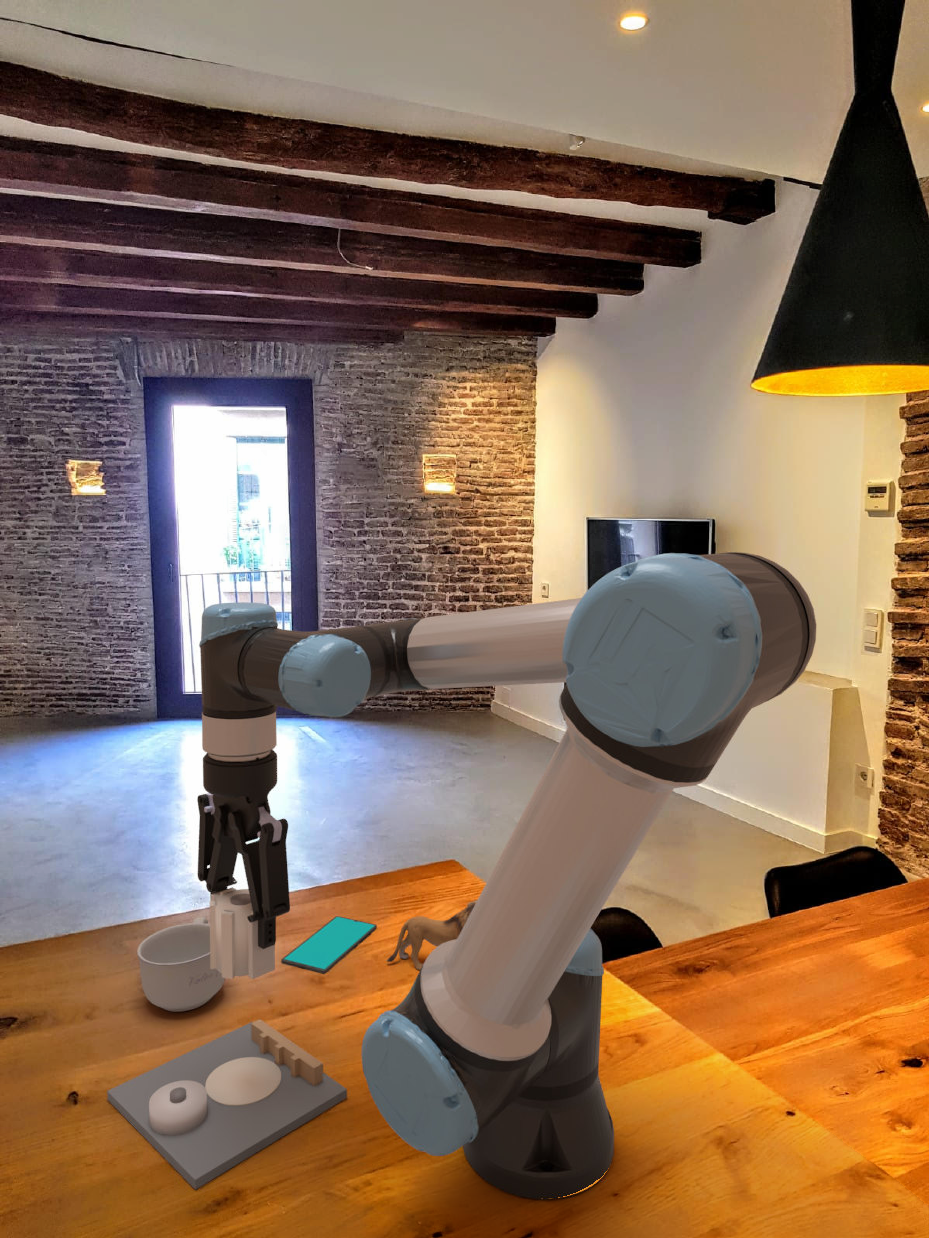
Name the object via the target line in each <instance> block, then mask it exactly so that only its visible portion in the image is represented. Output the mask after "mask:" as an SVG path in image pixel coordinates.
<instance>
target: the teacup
mask: <svg viewBox="0 0 929 1238" xmlns="http://www.w3.org/2000/svg"><path fill="white" fill-rule="evenodd" d="M136 951H137V952H136V954H137V957H138V964H139V972H140V978H141V987H142V990H143V993H144V995H145V997H146V999H147V1000H148V1001H149V1002H150V1004H152V1005H155V1006H156V1007H159V1008H161V1009H163V1010H166V1011H168V1012H179V1013H180V1012H185V1011H187V1012H188V1011H190V1010H194V1009H197V1008H199V1007H201V1006H204V1005H205V1004H206V1003H207V1002H209V1001H210V1000H211V999H212V998H213V997H214V996H215V995H216V994H217V993H218V992H219V991H220V990H221V988H222V987H223V985H224V982H225V980H226V978H223V977H222V973H220V972H219V971H217V969H210V923H209V920H208V919H207V918H206V917H205V916H199V917H196V918H194V920H193V921H192V922H191V923H189V922H188V923H182V924H177V925H172V926H169V927H166V928H162V929H160V930H158V931H156V932H154V933H153V934H150V935H149V936H147V937H146V938H144V939H143V941H141V943H140V944H139V945H138V948H137V950H136Z"/></svg>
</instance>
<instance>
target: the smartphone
mask: <svg viewBox="0 0 929 1238" xmlns="http://www.w3.org/2000/svg"><path fill="white" fill-rule="evenodd" d="M377 927H378V925H377V924H375V923H372V922H371V923H370V922H366V921H361V920H357V919H354V918H353V919H352V918H348V917H344V916H340V915H339V916H338V915H337V916H334V917H333V918H331V920H329V921H328V922H327V923H325V924H324V925H323V926H322V927H321V928H319V929H318V930H316V931H315V933H313V934H312V935H310V936H309V937H308V938H306V939H305V940H304V941H303V942H301V943H300V944H299V945H297V946H296V947H295V948H294V949H293V950H291V951H290V952H289V953H287V954H286V955H285V956H284V957H282V958H281V960H280V961H281V962H280V963H281V964H283V965H287V966H290V967H294V968H298V969H300V968H302V969H304V970H307V971H311V972H313V973H318V974H321V975H325V974H327V973H328V972H330V970H331V969H333V967H335V966H336V965H337V964H338V963H339V962H340V961H342V959H344V958H345V957H346V956H347V955H348V954H350V953H351V952H352V951H353V950H354V949H356V948H357V947H358V946H359V945H360V944H362V943H363V942H364V941H365V940H366V939H367V938H368V937H370V936H371V935H372V933H373V932H375V931H376V930H377Z"/></svg>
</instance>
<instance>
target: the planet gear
mask: <svg viewBox="0 0 929 1238" xmlns="http://www.w3.org/2000/svg"><path fill="white" fill-rule="evenodd" d="M228 889H229V888H228ZM262 906H263V904H262ZM250 915H253V910H252V905H251V899H250V894H249V889H248V888H243V889H241V888H240V889H236V890H234V891H233V890H231V889H229V890H226V891H223V892H220V896H219V897H218V898H217V899H216V900H215V901H210V900H209V924H210V969H217V971H219V972H220V973H222V977H223V978H225V979H231V980H233V979H234V978H236V977H245V976H249V955H248V918H247V916H250Z"/></svg>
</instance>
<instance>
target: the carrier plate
mask: <svg viewBox="0 0 929 1238" xmlns="http://www.w3.org/2000/svg"><path fill="white" fill-rule="evenodd" d="M323 1065H324V1064H323V1062H322V1061H321V1060H318V1058H316V1057H314V1056H313V1055H312V1054H311V1053H308V1051H306V1050H305V1049H303V1048H301V1047H300V1046H299V1045H297V1044H296V1043H294V1042H293V1041H291V1040H290V1039H289V1038H287V1037H286V1036H284V1035H283V1034H282V1033H280V1032H279V1031H277V1030H276V1029H275V1028H273V1027H272V1026H270V1025H269V1024H268V1023H266V1022H264V1020H261V1019H260V1018H259V1019H256V1020H255V1021H251V1022H249V1023H247V1024H245V1025H243V1026H241V1027H239V1028H236V1029H234V1030H232V1031H230V1032H228V1033H226V1034H224V1035H222V1036H219V1037H218V1038H215V1039H213V1040H211V1041H209V1042H207V1043H205V1044H203V1045H200V1046H199V1047H198V1046H197V1048H195V1049H194V1048H193V1049H192V1050H191V1051H188V1052H186V1053H184V1054H182V1055H180V1056H178V1057H176V1058H173V1059H171V1060H169V1061H167V1062H165V1063H163V1064H161V1065H159V1066H157V1067H154V1068H152V1069H150V1070H148V1071H146V1072H144V1073H142V1074H140V1075H138V1076H136V1077H133V1078H132V1079H129V1080H128V1081H125V1082H123V1083H121V1084H118V1085H117V1086H115V1087H113V1088H111V1089H110V1088H109V1090H107V1092H106V1094H107V1095H106V1096H107V1098H106V1099H107V1101H108V1102H109V1103H110V1104H111V1105H112V1106H113V1107H114V1108H115V1109H116V1110H117V1111H118V1112H119V1113H120V1114H121V1115H122V1117H124V1118H125V1119H126V1120H127V1121H128V1123H130V1124H131V1125H132V1127H133V1128H134V1129H135V1130H137V1132H138V1133H139V1134H140V1135H142V1136H143V1137H144V1139H145V1140H146V1141H147V1142H148V1143H149V1144H150V1145H151V1146H152V1147H153V1148H154V1149H155V1150H156V1151H157V1152H158V1153H159V1154H160V1155H161V1157H162V1158H164V1160H165V1161H167V1162H168V1164H169V1165H170V1166H172V1168H174V1170H175V1171H177V1173H178V1174H179V1175H180V1176H181V1177H182V1178H183V1179H184V1180H185V1181H186V1182H187V1184H189V1185H190V1186H191V1187H192V1188H193V1189H194V1190H198V1189H199V1188H201V1187H202V1186H204V1185H206V1184H207V1183H209V1182H211V1181H213V1180H214V1179H216V1178H217V1177H218V1176H220V1175H223V1174H224V1173H225V1172H227V1171H228V1170H230V1169H232V1168H234V1167H235V1166H237V1165H238V1164H240V1163H242V1162H243V1161H246V1160H247V1159H249V1158H250V1157H251V1156H254V1155H255V1154H257V1153H259V1152H260V1151H262V1150H263V1149H265V1148H267V1147H268V1146H270V1145H272V1144H273V1143H274V1142H277V1141H278V1140H279V1139H282V1138H283V1137H284V1136H286V1135H288V1134H289V1133H291V1132H293V1131H295V1130H296V1129H298V1128H300V1127H301V1126H303V1125H304V1124H306V1123H308V1122H309V1121H311V1120H312V1119H314V1118H316V1117H318V1116H320V1115H322V1114H323V1113H324V1112H325V1111H327V1110H329V1109H331V1108H332V1107H335V1106H336V1105H337V1104H339V1103H340V1102H342V1101H344V1100H345V1099H347V1098H348V1089H347V1088H346V1087H344V1086H343V1085H341V1084H340V1083H339V1082H338V1081H336V1080H335V1079H333V1078H332V1077H331V1076H329V1075H327V1074H326V1073H324V1071H323V1070H324V1066H323Z"/></svg>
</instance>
